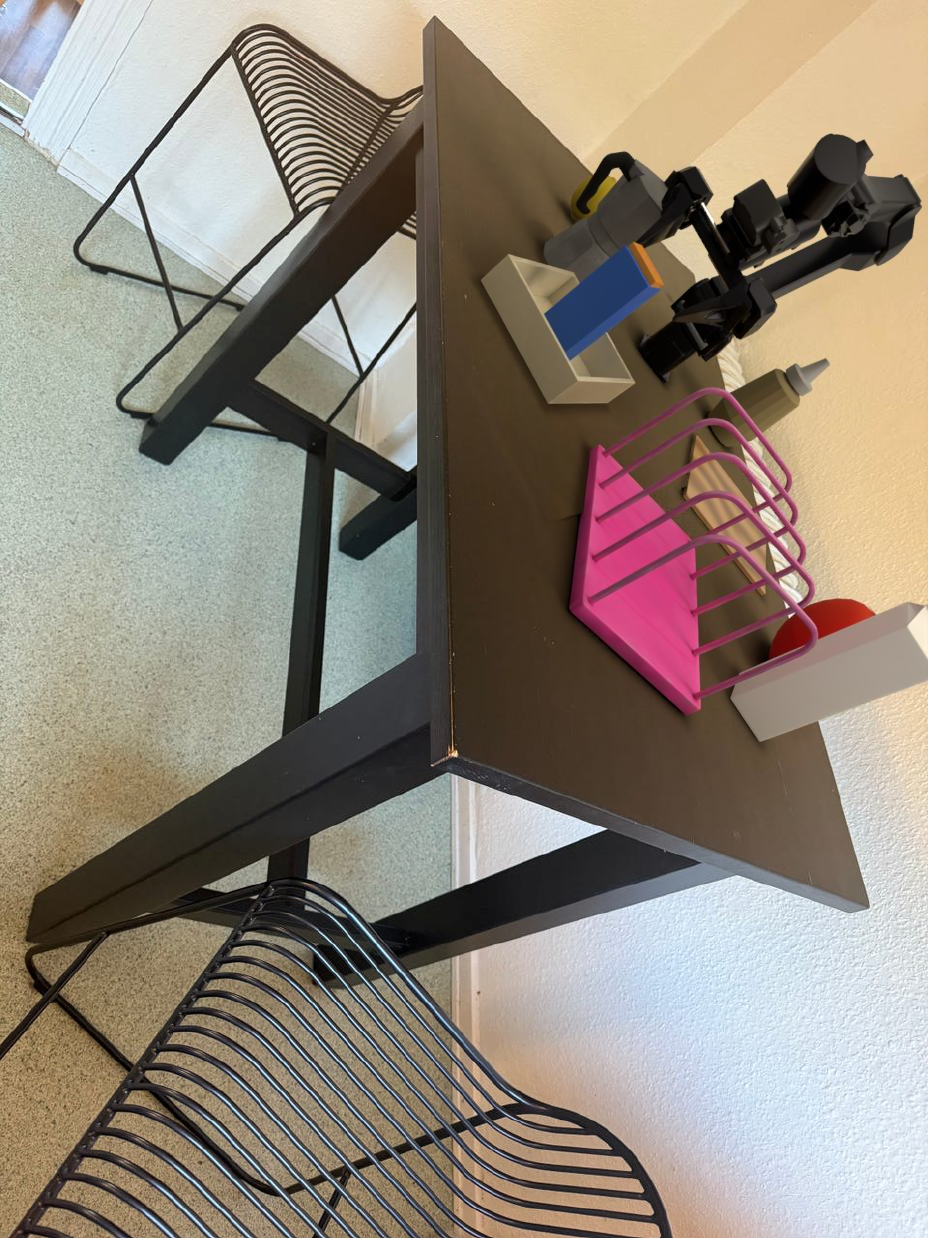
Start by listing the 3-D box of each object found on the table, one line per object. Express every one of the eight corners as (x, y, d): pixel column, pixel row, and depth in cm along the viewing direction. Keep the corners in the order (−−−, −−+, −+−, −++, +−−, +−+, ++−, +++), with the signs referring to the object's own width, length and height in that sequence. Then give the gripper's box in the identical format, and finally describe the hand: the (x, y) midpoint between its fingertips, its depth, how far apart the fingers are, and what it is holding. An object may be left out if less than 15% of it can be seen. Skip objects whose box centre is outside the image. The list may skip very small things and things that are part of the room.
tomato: (801, 740, 98) (923, 696, 89) (747, 678, 94) (869, 627, 86) (796, 669, 107) (906, 624, 99) (747, 611, 103) (857, 559, 95)
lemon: (583, 240, 120) (627, 200, 116) (558, 210, 118) (602, 169, 113) (584, 225, 124) (627, 187, 120) (561, 196, 122) (603, 156, 117)
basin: (544, 297, 100) (573, 271, 97) (604, 405, 98) (635, 383, 96) (476, 283, 87) (508, 253, 85) (544, 406, 86) (578, 380, 84)
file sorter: (681, 551, 96) (807, 481, 87) (685, 718, 79) (843, 653, 69) (586, 451, 89) (712, 364, 80) (566, 611, 72) (725, 523, 62)
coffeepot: (585, 275, 114) (697, 181, 104) (600, 324, 110) (718, 231, 99) (511, 214, 104) (627, 102, 93) (525, 265, 100) (648, 154, 89)
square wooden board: (693, 436, 118) (696, 434, 118) (763, 527, 123) (766, 525, 123) (682, 496, 104) (686, 494, 104) (761, 596, 109) (765, 594, 109)
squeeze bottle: (733, 440, 132) (841, 374, 121) (730, 461, 126) (844, 393, 115) (704, 401, 130) (812, 330, 119) (700, 420, 123) (813, 347, 113)
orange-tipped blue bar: (545, 326, 94) (643, 244, 86) (565, 364, 94) (666, 285, 86) (530, 324, 91) (630, 239, 83) (551, 363, 91) (654, 281, 83)
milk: (738, 673, 93) (939, 585, 80) (767, 715, 93) (971, 636, 81) (728, 699, 88) (942, 610, 75) (759, 744, 89) (976, 664, 76)
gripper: (762, 106, 86) (635, 160, 83) (852, 258, 84) (725, 317, 82) (718, 178, 97) (605, 227, 94) (797, 314, 95) (684, 367, 93)
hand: (653, 282), depth 90 cm, fingers open, 9 cm apart
